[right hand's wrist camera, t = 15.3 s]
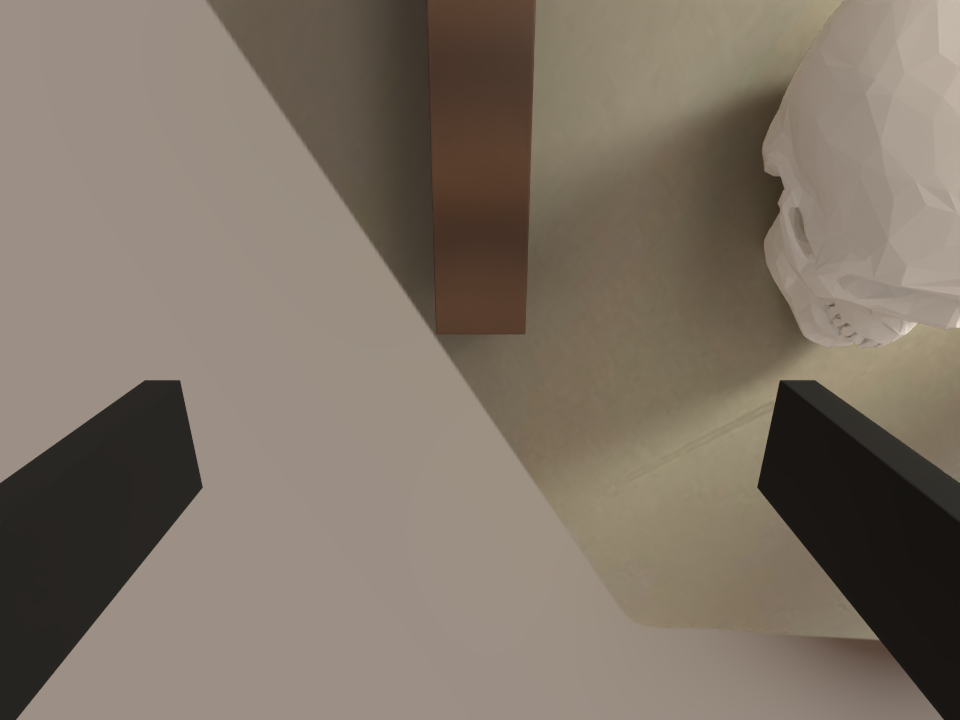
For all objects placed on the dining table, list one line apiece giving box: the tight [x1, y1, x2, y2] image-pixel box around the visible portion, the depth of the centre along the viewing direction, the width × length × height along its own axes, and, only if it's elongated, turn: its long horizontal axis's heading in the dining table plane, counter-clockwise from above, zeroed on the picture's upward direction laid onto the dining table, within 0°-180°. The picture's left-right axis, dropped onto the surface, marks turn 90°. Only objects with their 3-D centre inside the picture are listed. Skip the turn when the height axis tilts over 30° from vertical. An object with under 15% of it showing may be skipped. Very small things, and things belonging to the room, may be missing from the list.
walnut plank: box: [427, 0, 536, 334], centre depth 30 cm, size 26×5×8 cm, turn 0°
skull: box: [762, 0, 960, 348], centre depth 29 cm, size 13×22×16 cm, turn 10°
